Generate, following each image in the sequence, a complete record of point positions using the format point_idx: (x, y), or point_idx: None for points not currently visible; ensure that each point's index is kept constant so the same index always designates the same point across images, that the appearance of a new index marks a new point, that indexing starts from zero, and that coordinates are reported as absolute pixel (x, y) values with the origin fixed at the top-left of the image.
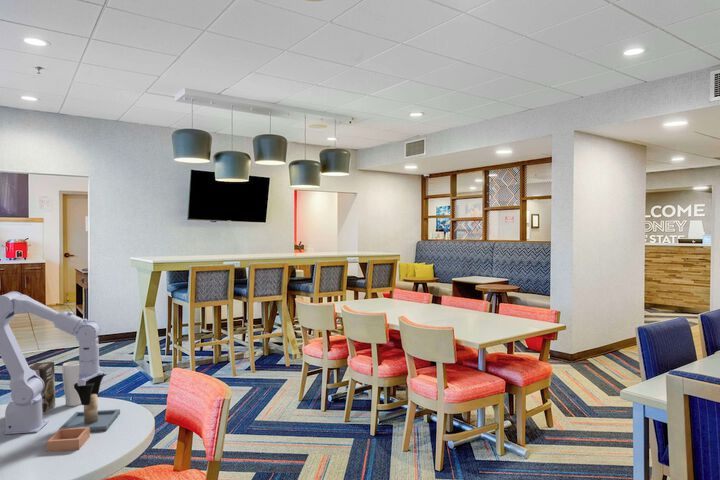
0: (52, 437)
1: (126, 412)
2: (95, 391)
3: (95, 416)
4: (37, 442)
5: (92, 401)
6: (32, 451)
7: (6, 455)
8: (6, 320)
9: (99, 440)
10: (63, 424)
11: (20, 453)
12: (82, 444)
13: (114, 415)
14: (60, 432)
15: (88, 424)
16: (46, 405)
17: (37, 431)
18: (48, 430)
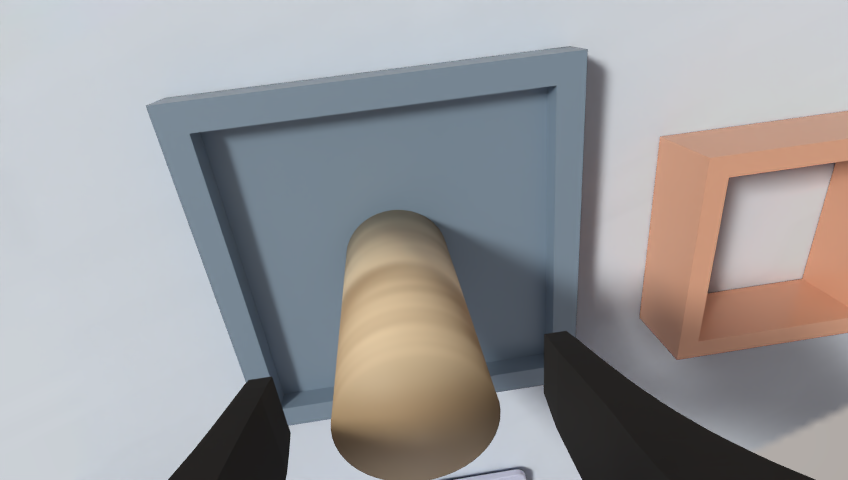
0: (820, 328)
1: (121, 40)
2: (259, 444)
3: (421, 235)
4: (658, 399)
5: (470, 340)
6: (774, 362)
7: (774, 441)
8: None
9: (759, 18)
10: (497, 391)
11: (776, 400)
12: (813, 117)
13: (324, 88)
14: (700, 331)
15: (459, 246)
16: None
17: (520, 470)
18: (496, 432)
